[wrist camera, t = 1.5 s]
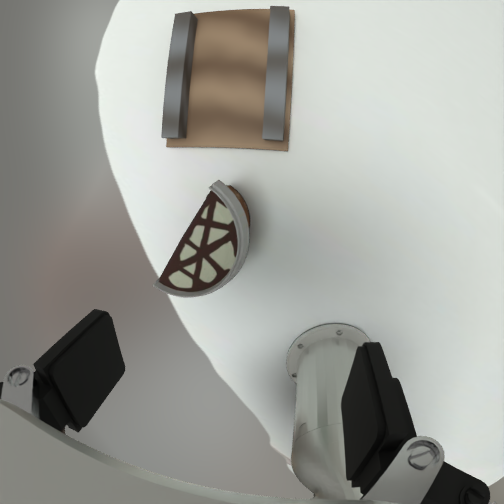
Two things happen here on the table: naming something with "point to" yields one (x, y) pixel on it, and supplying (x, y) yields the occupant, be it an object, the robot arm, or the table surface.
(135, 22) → the table surface
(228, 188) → the food container
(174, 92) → the cradle
